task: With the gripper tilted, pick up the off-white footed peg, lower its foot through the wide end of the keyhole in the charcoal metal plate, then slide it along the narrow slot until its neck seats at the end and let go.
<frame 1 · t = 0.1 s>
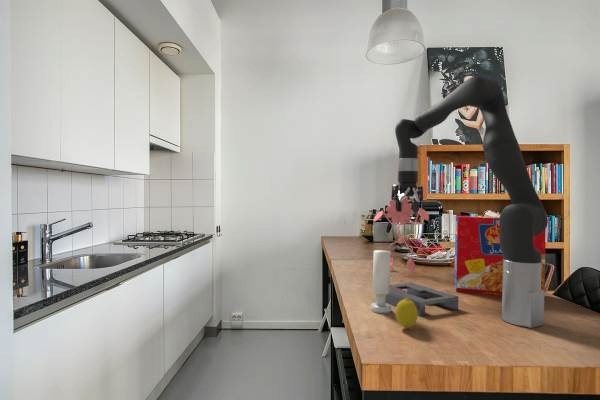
hand: (407, 211, 140), 29 cm above the table, tool pointing down, fingers open, 8 cm apart
keyhole plate: (415, 303, 116), on the table
pasta box: (496, 293, 131), on the table
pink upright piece: (398, 273, 165), on the table
footed peg: (380, 310, 108), on the table
lemon: (406, 329, 93), on the table
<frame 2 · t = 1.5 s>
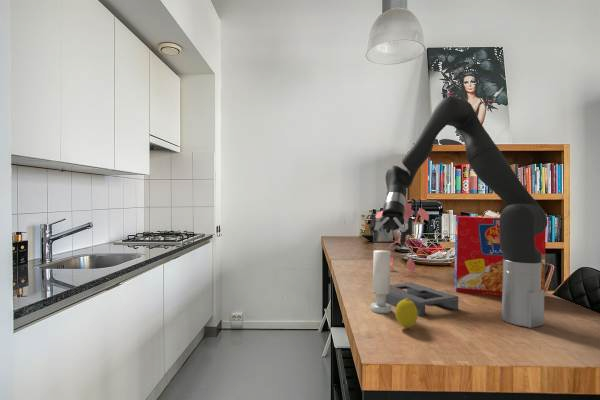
hand: (388, 242, 119), 20 cm above the table, tool tilted 45°, fingers open, 8 cm apart
nothing on the table moved.
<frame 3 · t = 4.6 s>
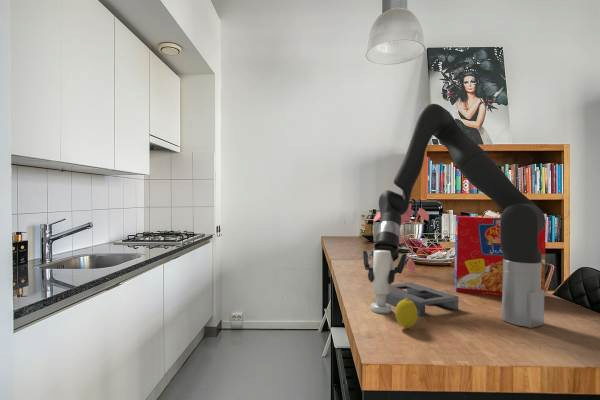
hand: (380, 281, 106), 9 cm above the table, tool tilted 45°, fingers closed on footed peg, 5 cm apart
footed peg: (380, 310, 108), on the table, touching gripper
everything else where it was.
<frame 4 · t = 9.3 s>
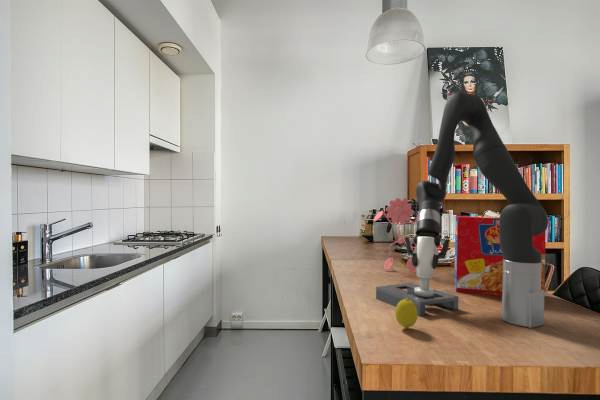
hand: (424, 266, 111), 13 cm above the table, tool tilted 45°, fingers closed on footed peg, 5 cm apart
footed peg: (424, 294, 113), point 4 cm above the table, touching gripper
everything else where it was.
when the fingers open (10 cm above the table, at t = 13.8 s): footed peg stays where it is, on the table.
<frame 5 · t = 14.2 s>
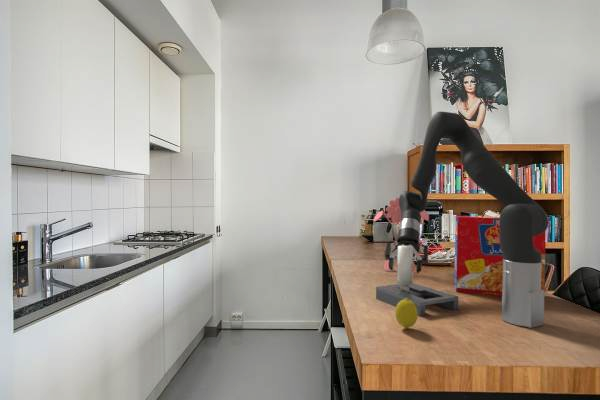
hand: (404, 270, 119), 10 cm above the table, tool tilted 45°, fingers open, 8 cm apart
footed peg: (404, 299, 120), on the table
everything else where it was.
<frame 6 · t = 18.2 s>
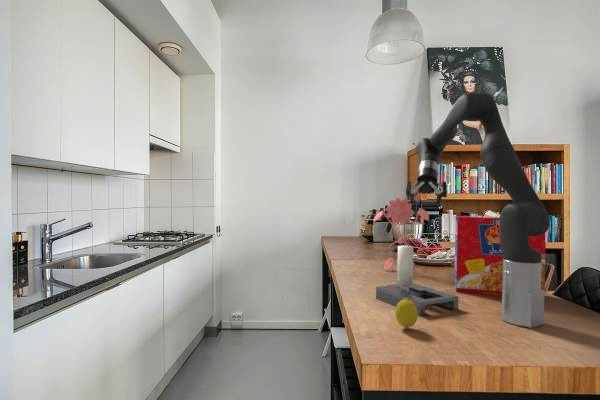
hand: (425, 203, 128), 33 cm above the table, tool tilted 45°, fingers open, 8 cm apart
nothing on the table moved.
at the end: footed peg 0.1 cm from the target spot on the keyhole plate, point 0.0 cm above the keyhole plate's base; footed peg tilted 0°; the gripper is holding nothing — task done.
